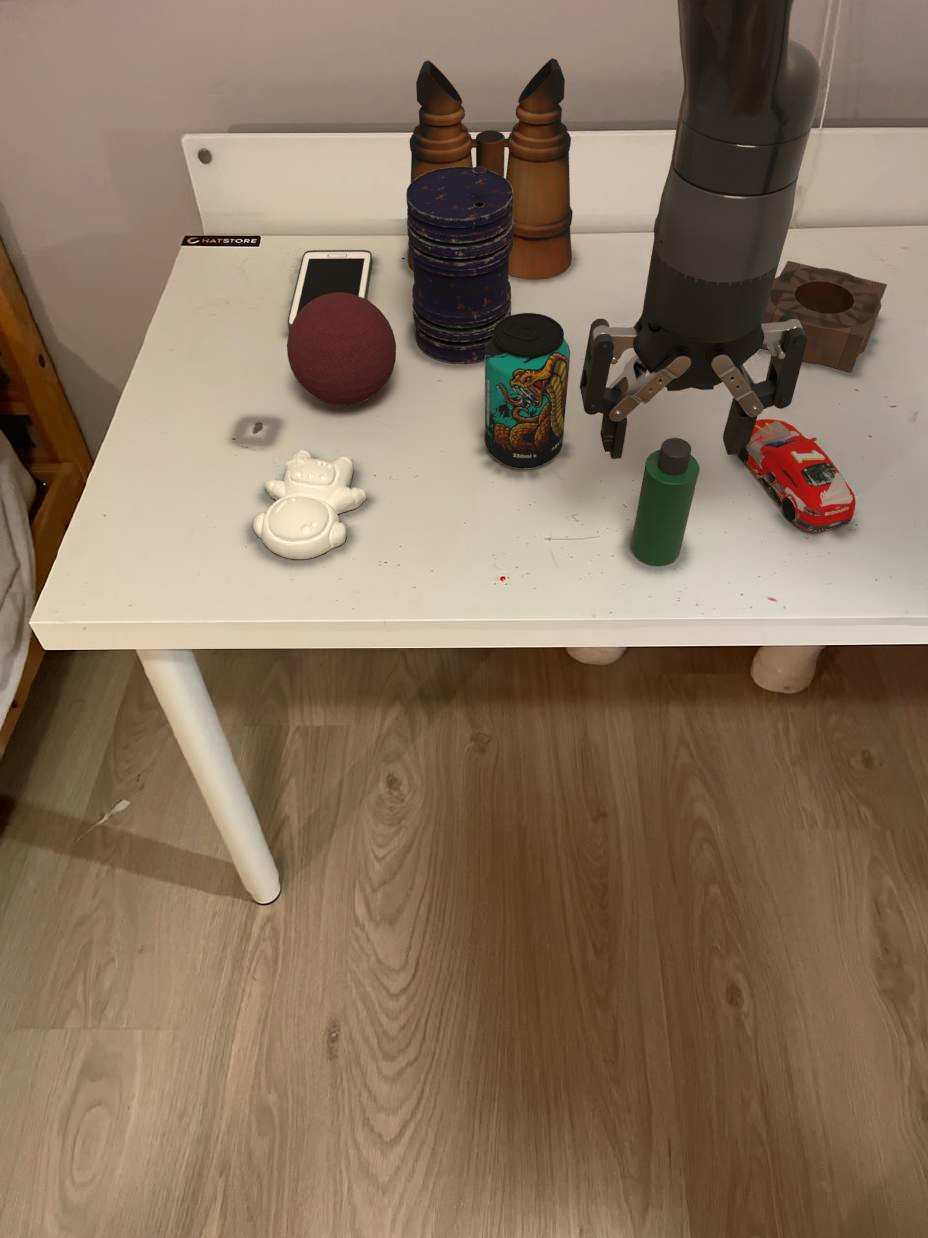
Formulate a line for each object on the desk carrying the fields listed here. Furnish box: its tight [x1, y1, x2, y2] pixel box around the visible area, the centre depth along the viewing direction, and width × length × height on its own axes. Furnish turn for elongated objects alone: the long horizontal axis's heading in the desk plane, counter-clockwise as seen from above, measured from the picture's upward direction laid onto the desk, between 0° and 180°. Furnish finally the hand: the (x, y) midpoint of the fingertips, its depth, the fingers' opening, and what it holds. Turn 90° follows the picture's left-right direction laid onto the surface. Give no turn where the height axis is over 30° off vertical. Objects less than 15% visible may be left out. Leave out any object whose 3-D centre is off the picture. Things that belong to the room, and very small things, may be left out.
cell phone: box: [287, 249, 373, 331], centre depth 100 cm, size 8×15×1 cm, turn 179°
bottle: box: [630, 437, 701, 567], centre depth 72 cm, size 4×4×11 cm
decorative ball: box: [286, 292, 397, 406], centre depth 86 cm, size 10×10×10 cm
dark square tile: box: [251, 421, 263, 435], centre depth 86 cm, size 3×3×1 cm
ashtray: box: [760, 260, 888, 373], centre depth 93 cm, size 11×11×4 cm
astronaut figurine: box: [252, 449, 367, 560], centre depth 79 cm, size 9×12×3 cm
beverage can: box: [484, 312, 571, 470], centre depth 80 cm, size 7×7×12 cm
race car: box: [737, 418, 857, 533], centre depth 79 cm, size 13×5×4 cm, turn 17°
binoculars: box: [406, 57, 574, 280], centre depth 96 cm, size 18×8×20 cm, turn 90°
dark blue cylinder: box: [405, 166, 513, 365], centre depth 88 cm, size 10×10×18 cm
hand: (672, 449), depth 68 cm, fingers open, 8 cm apart
